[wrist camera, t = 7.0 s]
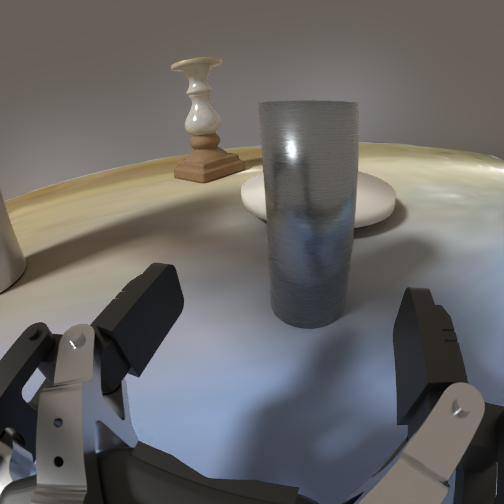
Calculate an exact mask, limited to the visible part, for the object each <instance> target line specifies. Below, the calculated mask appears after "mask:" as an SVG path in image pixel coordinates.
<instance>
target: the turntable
mask: <svg viewBox="0 0 504 504" xmlns="http://www.w3.org/2000/svg"><path fill="white" fill-rule="evenodd" d="M241 197H242V204H243V206H244V207H245V209H246V210H247V211H249V212H250V213H251V214H253V215H255V216H256V217H259V218H261V219H263V220H266V221H267V217H266V202H265V188H264V173H261V174H258V175H256V176H254V177H252V178H250V179H248V180H247V181H246V182H245V183H244V184H243V185H242V187H241ZM395 198H396V193H395V190H394V189H393V188H392V187H391V186H390V185H389V184H388V183H386V182H385V181H383V180H381V179H379V178H377V177H375V176H372V175H369V174H366V173H362V172H359V171H358V180H357V198H356V212H355V224H354V228H358V227H363V226H368V225H371V224H375V223H378V222H380V221H382V220H384V219H386V218H387V217H389V216H390V215H391V214H392V212H393V211H394V207H395Z"/></svg>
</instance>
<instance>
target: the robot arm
mask: <svg viewBox="0 0 504 504" xmlns="http://www.w3.org/2000/svg"><path fill="white" fill-rule="evenodd" d="M26 266H27V262H26V260H25V258H24V255H23V253H22V251H21V248H20V246H19V243H18V241H17V238H16V235H15V233H14V230H13V227H12V224H11V222H10V219H9V216H8V213H7V210H6V206H5V203H4V200H3V197H2V193H1V190H0V293H1V292H2V291H4V290H5V289H7V288H8V287H9V286H11V285H12V284H13V283H14V282H15V281H16V280H17V279H18V278H19V277H20V276H21V275H22V274H23V272H24V271H25V269H26ZM183 306H184V297H183V294H182V290H181V286H180V283H179V279H178V275H177V272H176V269H175V267H174V266H173V265H170V264H162V263H153V264H151V265H150V266H149V267H148V268H147V269H146V270H145V271H144V273H143V274H141V275H139V276H138V277H136V278H135V279H133V280H131V281H130V282H129V283H128V284H127V285H126V286H125V287H124V288H123V289H122V292H120V293H119V294H118V295H117V296H116V297H115V299H113V300H112V301H111V302H110V303H109V305H108V306H107V307H106V308H105V309H104V310H103V311H102V312H101V313H100V315H99V316H98V317H97V318H96V319H95V320H94V321H93V322H92V324H91V325H88V324H78V325H75V326H73V327H71V328H70V329H68V330H67V331H66V332H65V333H64V334H63V335H61V334H52V333H51V332H50V330H49V328H48V327H47V325H46V324H45V323H42V322H39V323H35V324H33V325H31V326H29V327H28V328H27V329H26V330H25V331H24V332H23V333H22V334H21V336H20V337H19V338H18V339H17V340H16V342H15V343H14V344H13V345H12V346H11V348H10V349H9V350H8V351H7V353H6V354H5V355H4V356H3V358H2V359H1V360H0V504H319V503H317V502H316V501H314V500H312V499H310V498H308V497H306V496H304V495H301V494H298V490H299V487H291V486H285V485H278V484H273V483H267V482H262V481H257V480H229V479H212V478H207V477H205V476H203V475H201V474H200V473H198V472H197V471H195V470H193V469H192V468H190V467H189V466H187V465H186V464H184V463H183V462H181V461H180V460H178V459H177V458H175V457H174V456H173V455H171V454H168V453H166V452H163V451H161V450H158V449H156V448H154V447H151V446H149V445H147V444H145V443H142V442H140V441H139V440H138V437H137V435H136V433H135V432H134V430H133V427H132V424H131V417H130V410H129V402H128V393H127V384H126V380H125V379H124V377H125V376H126V374H127V373H129V374H131V375H134V376H136V377H140V375H141V374H142V372H143V370H144V369H145V367H146V366H147V364H148V363H149V361H150V360H151V358H152V357H153V355H154V353H155V352H156V350H157V349H158V347H159V346H160V344H161V343H162V341H163V340H164V338H165V337H166V335H167V334H168V332H169V331H170V329H171V328H172V326H173V325H174V323H175V322H176V320H177V319H178V317H179V316H180V314H181V312H182V310H183ZM393 345H394V356H395V370H396V390H397V425H408V434H407V435H406V436H405V438H404V439H403V440H402V442H401V443H400V444H399V445H398V446H397V448H396V449H395V450H394V451H393V452H392V454H391V455H390V456H389V457H388V458H387V459H386V460H385V462H384V463H383V464H382V465H381V466H380V467H379V468H378V469H377V470H376V471H375V472H374V473H373V475H372V476H371V477H370V478H369V479H368V480H367V481H365V482H364V483H363V484H362V485H361V486H360V487H359V488H358V489H356V490H355V491H354V492H353V493H352V494H351V495H350V496H349V497H347V498H346V499H345V500H344V501H343V502H342V503H341V504H441V502H442V501H443V499H444V498H445V496H446V495H447V493H448V490H449V484H448V479H449V477H450V476H451V474H452V473H453V471H454V469H455V468H456V481H455V492H454V501H453V504H504V407H502V406H498V405H493V404H489V403H486V402H484V400H483V397H482V395H481V393H480V392H479V391H478V390H477V389H476V388H475V387H474V386H472V385H470V384H468V380H467V376H466V371H465V367H464V363H463V359H462V355H461V351H460V347H459V344H458V342H457V337H456V333H455V332H454V327H453V324H452V320H451V317H450V316H449V314H448V313H447V312H446V311H445V309H444V308H443V307H442V306H441V305H435V304H434V301H433V298H432V295H431V292H430V290H429V289H425V288H409V287H408V288H406V290H405V293H404V296H403V299H402V303H401V306H400V309H399V312H398V315H397V318H396V321H395V325H394V330H393ZM37 367H38V369H39V370H40V371H41V372H42V374H43V375H44V376H45V377H46V379H45V381H44V382H43V384H42V385H41V386H40V388H39V389H38V391H37V392H36V394H35V395H34V397H33V398H32V400H31V401H30V402H28V403H27V402H26V401H25V400H24V399H23V397H22V388H23V386H24V385H25V384H26V382H27V381H28V379H29V378H30V377H31V375H32V374H33V373H34V371H35V370H36V368H37ZM35 460H36V464H35V463H34V462H35ZM497 463H498V473H497ZM30 475H31V476H30ZM496 480H497V494H496ZM495 497H496V498H495Z"/></svg>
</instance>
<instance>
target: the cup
mask: <svg viewBox="0 0 504 504" xmlns="http://www.w3.org/2000/svg"><path fill="white" fill-rule="evenodd" d="M258 108H259V121H260V132H261V146H262V160H263V173H264V188H265V202H266V217H267V233H268V250H269V267H270V285H271V304H272V309H273V311H274V313H275V315H276V316H277V317H278V318H279V319H280V320H282V321H283V322H285V323H287V324H289V325H291V326H295V327H299V328H319V327H323V326H326V325H328V324H330V323H332V322H334V321H335V320H336V319H338V318H339V316H340V315H341V314H342V312H343V309H344V304H345V298H346V291H347V284H348V277H349V270H350V262H351V254H352V245H353V235H354V224H355V212H356V198H357V180H358V150H359V121H358V120H359V117H358V116H359V113H358V102H349V101H327V100H325V101H324V100H323V101H322V100H289V101H266V102H258Z"/></svg>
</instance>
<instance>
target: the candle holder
mask: <svg viewBox="0 0 504 504" xmlns="http://www.w3.org/2000/svg"><path fill="white" fill-rule="evenodd" d="M222 62H223V60H222V59H221V58H218V57H201V58H193V59H188V60H184V61H180V62H177V63H174V64H173V65H172V66H171V70H173V71H183V72H184V75H185V76H186V77H187V78H188V79H189V82H190V86H189V89H188V91H187V92H186V94H187V95H189V97H190V99H191V101H192V107H191V110H190V113H189V114H188V117H187V119H186V122H185V129H186V131H187V132H188V133H190V134H192V135H193V138H192V139H191V141H190V145H191V147H192V148H194V151H193V152H192V153H191V154H190V155H189V156H188V157H187V158H186V159H183V160H181V161H178V162H177V167H176V168H175V169H173V170H174V177H175V178H179V179H184V180H189V181H194V182H199V183H207V182H210V181H213V180H216V179H219V178H221V177H224V176H227V175H230V174H233V173H236V172H239V171H242V170H245V165H244V161H242V160H240V159H239V156H238V155H237V154H232V153H227V152H226V151H224V150H223V149H221V148H219V147H218V146H217V145H218V144H219V143H220V138H219V136H218V135H217V134H216V133H215V132H216V131H217V130H218V129H219V128H220V126H221V119H220V117H219V115H218V114H217V113H216V111H215V110H214V109H213V108H212V107H211V105H210V103H209V96H210V93H211V91H212V88H211V87H210V86H209V84H208V82H207V77H208V75H209V73H210V72H211V67H214V66H218V65H220V64H222Z"/></svg>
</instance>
